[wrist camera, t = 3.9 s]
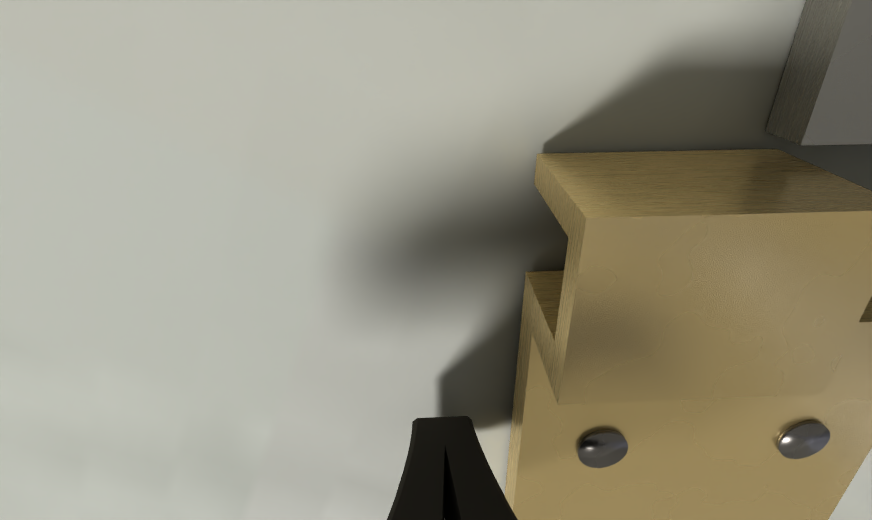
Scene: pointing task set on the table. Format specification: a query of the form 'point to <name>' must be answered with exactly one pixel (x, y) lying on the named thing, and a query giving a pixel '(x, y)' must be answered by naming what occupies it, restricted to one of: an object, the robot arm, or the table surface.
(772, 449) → the tan hinge plate
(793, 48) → the fixed leaf
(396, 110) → the table surface
